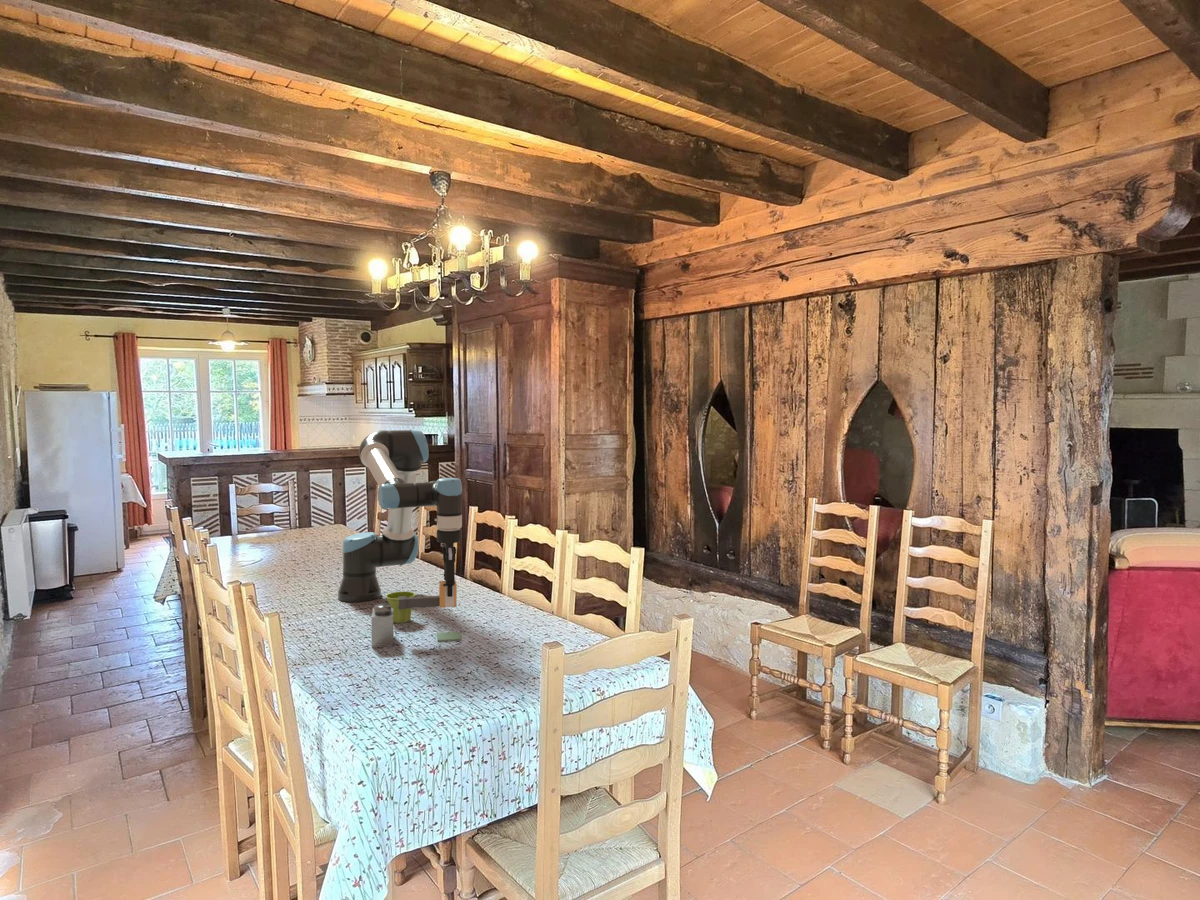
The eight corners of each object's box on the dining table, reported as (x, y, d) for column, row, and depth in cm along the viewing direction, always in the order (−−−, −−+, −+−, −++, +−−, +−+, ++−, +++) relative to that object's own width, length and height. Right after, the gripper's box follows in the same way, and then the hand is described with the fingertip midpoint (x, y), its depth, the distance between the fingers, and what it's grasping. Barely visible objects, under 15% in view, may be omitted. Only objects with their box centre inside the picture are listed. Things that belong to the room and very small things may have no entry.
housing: (373, 638, 216) (372, 602, 216) (393, 636, 218) (393, 601, 217) (371, 647, 208) (371, 610, 207) (392, 646, 209) (392, 609, 209)
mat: (436, 634, 220) (436, 633, 220) (459, 633, 222) (459, 631, 222) (437, 641, 214) (437, 640, 214) (461, 640, 215) (461, 638, 215)
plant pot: (385, 625, 229) (385, 599, 228) (386, 617, 238) (386, 592, 237) (415, 623, 231) (415, 597, 231) (415, 615, 240) (415, 590, 240)
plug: (398, 605, 216) (398, 583, 215) (455, 602, 220) (455, 580, 220) (398, 609, 211) (398, 586, 211) (456, 606, 216) (456, 583, 215)
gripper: (435, 524, 223) (435, 597, 225) (437, 534, 207) (437, 612, 208) (459, 523, 225) (459, 596, 227) (463, 533, 209) (463, 611, 210)
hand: (449, 603), depth 217 cm, fingers closed on plug, 4 cm apart
